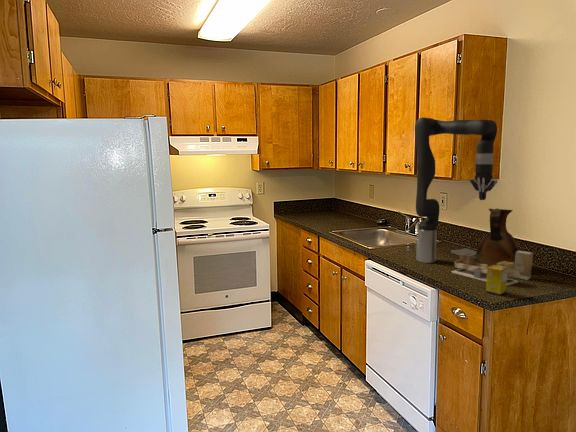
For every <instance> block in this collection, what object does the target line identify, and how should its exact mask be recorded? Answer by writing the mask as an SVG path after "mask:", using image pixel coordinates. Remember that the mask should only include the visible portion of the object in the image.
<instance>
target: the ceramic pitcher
mask: <svg viewBox="0 0 576 432" xmlns="http://www.w3.org/2000/svg"><path fill="white" fill-rule="evenodd" d="M488 210H489V212H490V213H489V230H490V231H489V232H488V233H486V234H485V235H484V237H483V238H482V239H481V240H480V242H479V244H478V246H477V249H476V251H477V252H476V258H477V260H476V261H477V263H480V264H485V265H488V267H490V266H492V265H497V263H499V262H503V261H507V262H513V263H514V265H515V255H516V252H517V251H521V250H520V247H519V245H518V242H517V240H516V239H515V237H514V235H512V234H511V233H509V231H508V230H507V219H508V216H509V215H510V213H512V212H513V209H506V208H505V209H504V208H503V209H502V208H488Z"/></svg>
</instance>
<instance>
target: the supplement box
mask: <svg viewBox="0 0 576 432" xmlns="http://www.w3.org/2000/svg"><path fill="white" fill-rule="evenodd" d="M507 271H508V267H503V266H498V265H492V266H488V267H487V282H486V284H485V285H486V287H485V293H487V294H491V295H494V296H499V297H500V296H503V295H505V294H506V293H507Z"/></svg>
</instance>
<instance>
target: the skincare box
mask: <svg viewBox="0 0 576 432" xmlns="http://www.w3.org/2000/svg"><path fill="white" fill-rule="evenodd" d="M533 254H534V252H530V251H524V250H520V251H517V252H516V255H515V265H514V272H515V273H516V275H514V276H512V277H513V278H515V279H521V280H525V281H528V280H530V279H531V275H532V267H533V265H532V264H533V258H534V255H533Z"/></svg>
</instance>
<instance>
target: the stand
mask: <svg viewBox="0 0 576 432" xmlns="http://www.w3.org/2000/svg"><path fill="white" fill-rule="evenodd" d="M451 272H452V273H453V274H455V275H460V276H463V277H468V278H470V279H471V278H472V279H476V280H479V281H483V282H486V283H487V274H486V273H481V271H480V270H474V271H472V270H467V269H462V268H459V269H455V270H452V271H451ZM451 272H450V273H451ZM517 283H519V280H516V279H512V278H509V277H508V278H507V286H510V285H514V284H517Z"/></svg>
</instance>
